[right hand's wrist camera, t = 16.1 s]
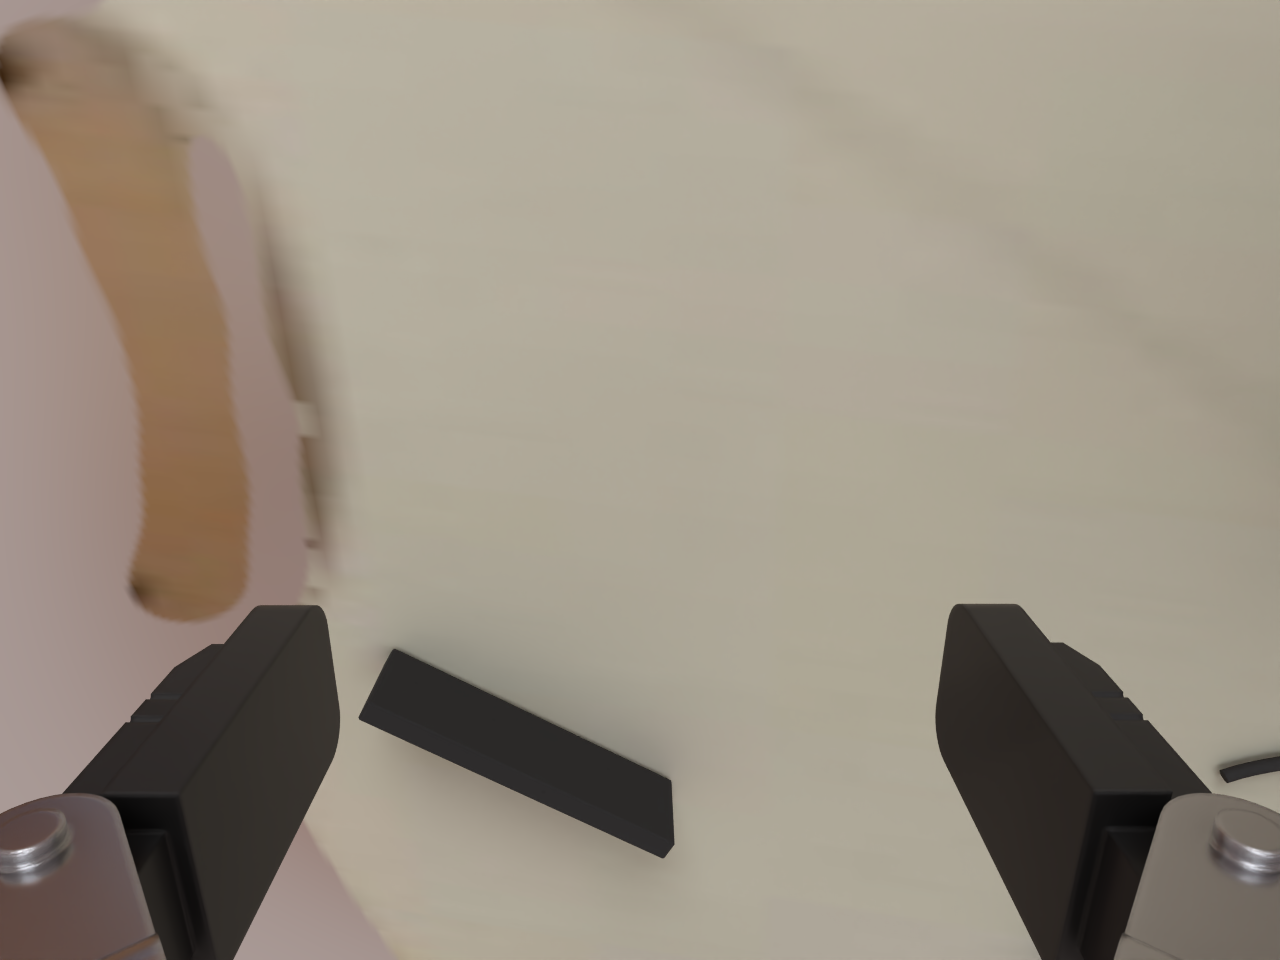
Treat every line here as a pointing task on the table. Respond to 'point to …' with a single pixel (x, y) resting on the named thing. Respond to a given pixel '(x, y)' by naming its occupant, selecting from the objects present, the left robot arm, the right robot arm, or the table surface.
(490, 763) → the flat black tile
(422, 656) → the table surface
